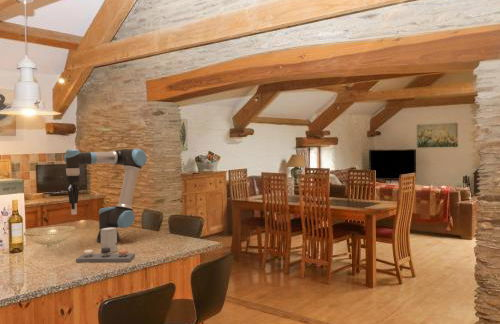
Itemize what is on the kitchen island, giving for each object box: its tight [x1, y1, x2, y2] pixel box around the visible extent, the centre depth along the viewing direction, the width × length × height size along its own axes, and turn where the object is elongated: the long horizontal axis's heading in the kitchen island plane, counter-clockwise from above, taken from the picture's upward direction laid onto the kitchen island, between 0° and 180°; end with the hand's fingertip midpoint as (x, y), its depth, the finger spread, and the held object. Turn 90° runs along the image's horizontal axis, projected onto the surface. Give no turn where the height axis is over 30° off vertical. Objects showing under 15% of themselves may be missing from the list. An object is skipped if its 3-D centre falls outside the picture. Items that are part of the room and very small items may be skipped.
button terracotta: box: [118, 248, 129, 257], centre depth 262 cm, size 5×5×5 cm
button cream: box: [83, 249, 94, 257], centre depth 263 cm, size 5×5×5 cm
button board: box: [75, 252, 136, 264], centre depth 263 cm, size 12×30×2 cm, turn 89°
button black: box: [100, 247, 110, 257], centre depth 262 cm, size 5×5×5 cm
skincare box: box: [100, 227, 118, 254], centre depth 280 cm, size 8×6×15 cm
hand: (74, 214), depth 275 cm, fingers closed
